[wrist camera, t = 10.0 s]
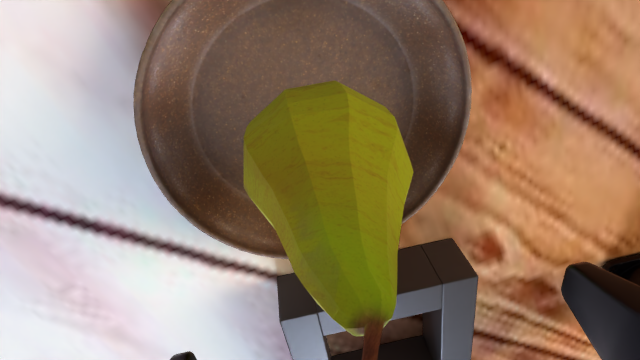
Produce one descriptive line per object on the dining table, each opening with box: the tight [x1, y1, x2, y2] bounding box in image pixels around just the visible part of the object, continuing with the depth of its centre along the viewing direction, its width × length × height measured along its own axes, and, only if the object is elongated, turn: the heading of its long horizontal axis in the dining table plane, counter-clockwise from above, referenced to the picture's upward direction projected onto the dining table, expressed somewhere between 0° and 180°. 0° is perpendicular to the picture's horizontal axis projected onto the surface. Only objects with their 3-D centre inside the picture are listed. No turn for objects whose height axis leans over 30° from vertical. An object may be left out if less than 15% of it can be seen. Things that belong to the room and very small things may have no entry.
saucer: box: [134, 0, 472, 259], centre depth 18 cm, size 15×15×3 cm
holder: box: [277, 238, 478, 360], centre depth 26 cm, size 12×12×4 cm
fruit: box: [244, 80, 414, 360], centre depth 12 cm, size 6×6×12 cm
